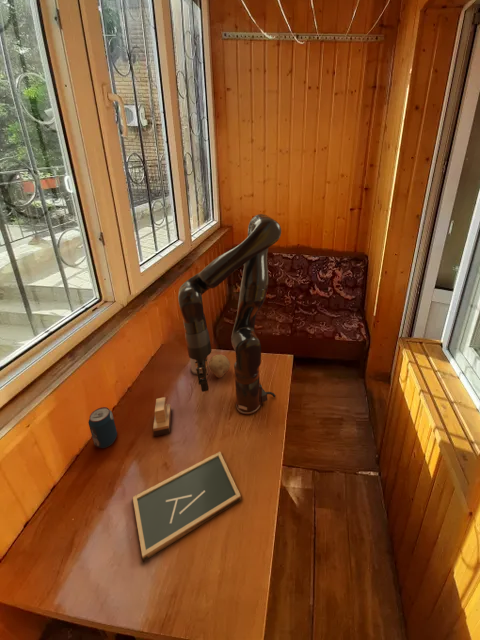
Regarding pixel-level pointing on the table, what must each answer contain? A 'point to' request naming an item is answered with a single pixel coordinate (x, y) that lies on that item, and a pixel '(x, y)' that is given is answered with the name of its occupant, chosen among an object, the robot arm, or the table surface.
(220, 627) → the table surface
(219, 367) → the natural sponge
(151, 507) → the chalkboard
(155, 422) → the eraser
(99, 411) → the soda can
